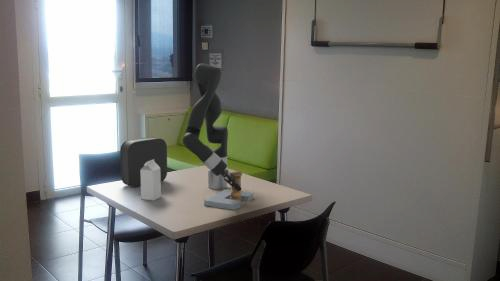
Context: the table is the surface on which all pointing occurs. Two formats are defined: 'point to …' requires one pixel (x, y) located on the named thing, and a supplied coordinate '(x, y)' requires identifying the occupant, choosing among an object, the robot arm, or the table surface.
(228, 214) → the table surface
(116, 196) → the table surface
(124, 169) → the speaker
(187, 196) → the table surface
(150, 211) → the table surface
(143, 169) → the milk carton
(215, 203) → the notched board
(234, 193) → the bobbin
